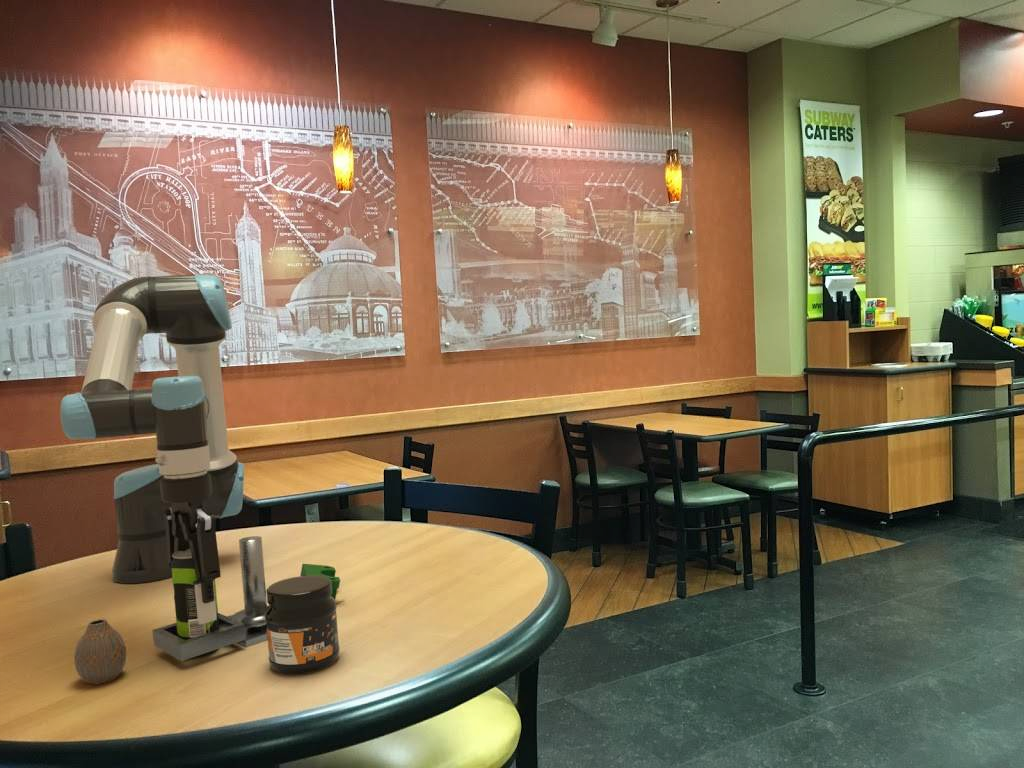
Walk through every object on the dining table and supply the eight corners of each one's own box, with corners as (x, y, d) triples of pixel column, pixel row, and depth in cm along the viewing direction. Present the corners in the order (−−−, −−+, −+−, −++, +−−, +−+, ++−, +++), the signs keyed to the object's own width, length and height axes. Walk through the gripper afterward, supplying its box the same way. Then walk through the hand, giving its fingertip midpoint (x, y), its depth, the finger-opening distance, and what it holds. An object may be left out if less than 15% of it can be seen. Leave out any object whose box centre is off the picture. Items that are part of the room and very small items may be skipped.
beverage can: (228, 638, 132) (220, 547, 131) (202, 653, 126) (193, 558, 125) (197, 635, 134) (189, 546, 133) (170, 650, 128) (161, 556, 127)
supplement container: (273, 683, 116) (267, 601, 116) (265, 657, 126) (258, 581, 125) (347, 667, 120) (341, 587, 120) (333, 643, 130) (327, 570, 129)
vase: (88, 671, 125) (83, 615, 124) (135, 667, 125) (130, 611, 125) (68, 691, 118) (62, 632, 117) (117, 686, 118) (111, 627, 118)
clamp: (331, 627, 150) (341, 587, 147) (298, 625, 148) (308, 585, 145) (328, 585, 161) (338, 548, 157) (297, 583, 159) (307, 544, 155)
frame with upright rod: (154, 654, 130) (145, 556, 129) (266, 618, 144) (259, 529, 143) (182, 670, 123) (173, 566, 122) (297, 630, 137) (290, 537, 136)
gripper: (136, 473, 132) (149, 612, 134) (188, 483, 119) (201, 637, 120) (182, 465, 138) (194, 599, 139) (236, 475, 124) (248, 622, 126)
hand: (197, 616), depth 130 cm, fingers closed on beverage can, 6 cm apart
